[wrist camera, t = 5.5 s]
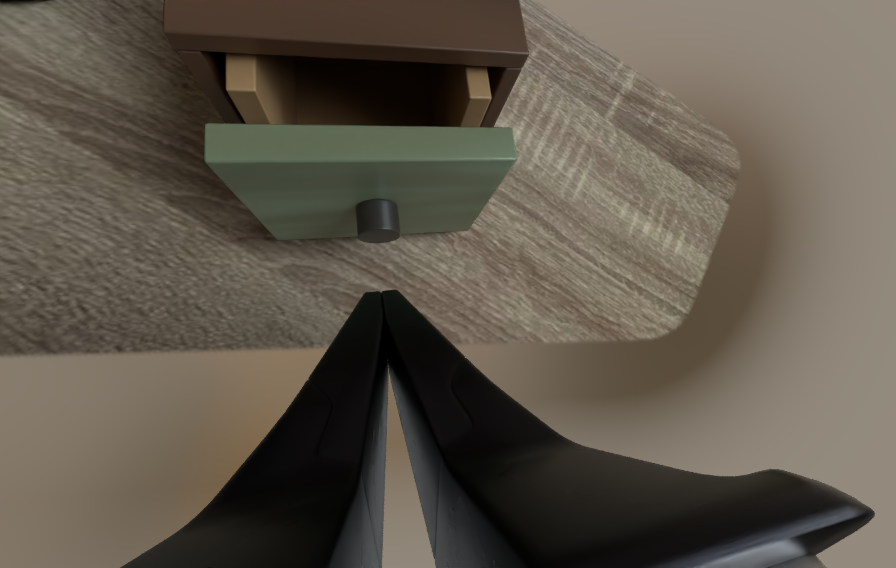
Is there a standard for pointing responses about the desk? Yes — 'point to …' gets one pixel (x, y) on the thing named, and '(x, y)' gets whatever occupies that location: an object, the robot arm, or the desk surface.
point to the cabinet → (349, 37)
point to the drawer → (358, 146)
